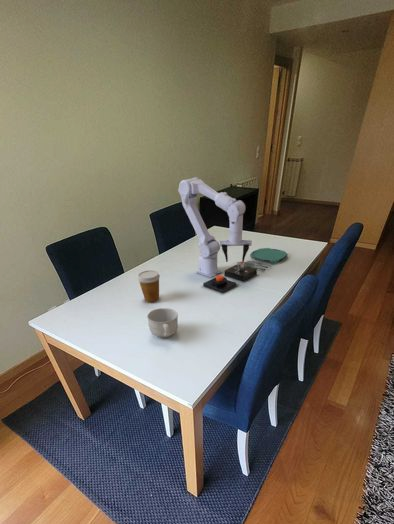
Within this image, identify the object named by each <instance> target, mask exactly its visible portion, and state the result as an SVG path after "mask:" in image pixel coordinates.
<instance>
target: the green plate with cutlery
mask: <svg viewBox="0 0 394 524" xmlns="http://www.w3.org/2000/svg"><path fill="white" fill-rule="evenodd" d="M249 257H250V258H251V259H254V260H256V261H253V260H246V261H244V262H245V266H247V267H251V268H255V269H257V271H258V270H259V271H260V270H261V271H263V272H265V271H266V269H269V268H271V267H272V265H269V264H265V263H262V262H268V263H269V262H271V263H272V264H273V265H275V264H277V263H278V262H279V261H283V260H284V259H286V258H287V257H288V253H287V252H286V251H285V250H281V249H277V248H270V247H261V248H258V249H255V250H253V251H252V252H251V253H250V254H249ZM258 261H259V262H258Z"/></svg>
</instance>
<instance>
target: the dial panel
mask: <svg viewBox="0 0 394 524" xmlns="http://www.w3.org/2000/svg"><path fill="white" fill-rule="evenodd" d="M223 273H224V274H223V276H224V277H225V278H230V279H233V280H236V281H239V282H242V283H244V282H246V281H248V280H249V279H252V278H253V277H255V276H257V275H258V269H255V268H251V267H247V266H245V270H244V271H237V264H234V265H233V266H231V267H228V268H226V269H225V270H224V271H223Z"/></svg>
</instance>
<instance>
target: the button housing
mask: <svg viewBox="0 0 394 524" xmlns="http://www.w3.org/2000/svg"><path fill="white" fill-rule="evenodd" d="M202 286H203V287H204V288H207V289H209V290H211V291H215V292H217V293H220V294H225V293H226V292H228V291H230V290H232V289H234V288H235V287H237V282H235V281H232V280H229V279H228V278H227V277H226V276H224V280H223V281H216V276H214V277H213V278H211V279H209V280H207V281H205V282H203V285H202Z"/></svg>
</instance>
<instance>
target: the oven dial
mask: <svg viewBox="0 0 394 524" xmlns="http://www.w3.org/2000/svg"><path fill="white" fill-rule="evenodd" d="M245 262H246V261H244V262H242V261H237V262H236V265H237V271H244V270H245V265H246V264H245Z"/></svg>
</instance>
